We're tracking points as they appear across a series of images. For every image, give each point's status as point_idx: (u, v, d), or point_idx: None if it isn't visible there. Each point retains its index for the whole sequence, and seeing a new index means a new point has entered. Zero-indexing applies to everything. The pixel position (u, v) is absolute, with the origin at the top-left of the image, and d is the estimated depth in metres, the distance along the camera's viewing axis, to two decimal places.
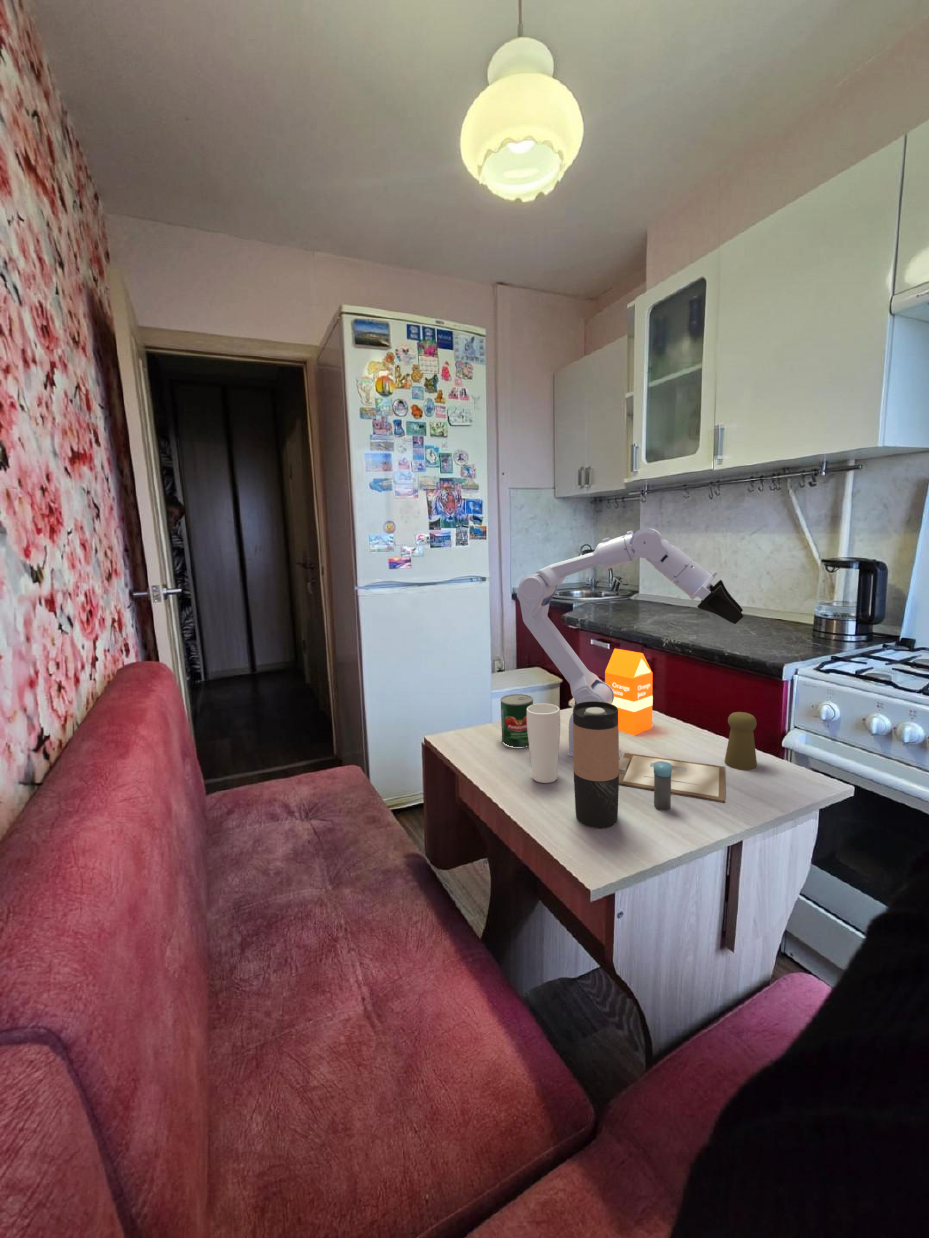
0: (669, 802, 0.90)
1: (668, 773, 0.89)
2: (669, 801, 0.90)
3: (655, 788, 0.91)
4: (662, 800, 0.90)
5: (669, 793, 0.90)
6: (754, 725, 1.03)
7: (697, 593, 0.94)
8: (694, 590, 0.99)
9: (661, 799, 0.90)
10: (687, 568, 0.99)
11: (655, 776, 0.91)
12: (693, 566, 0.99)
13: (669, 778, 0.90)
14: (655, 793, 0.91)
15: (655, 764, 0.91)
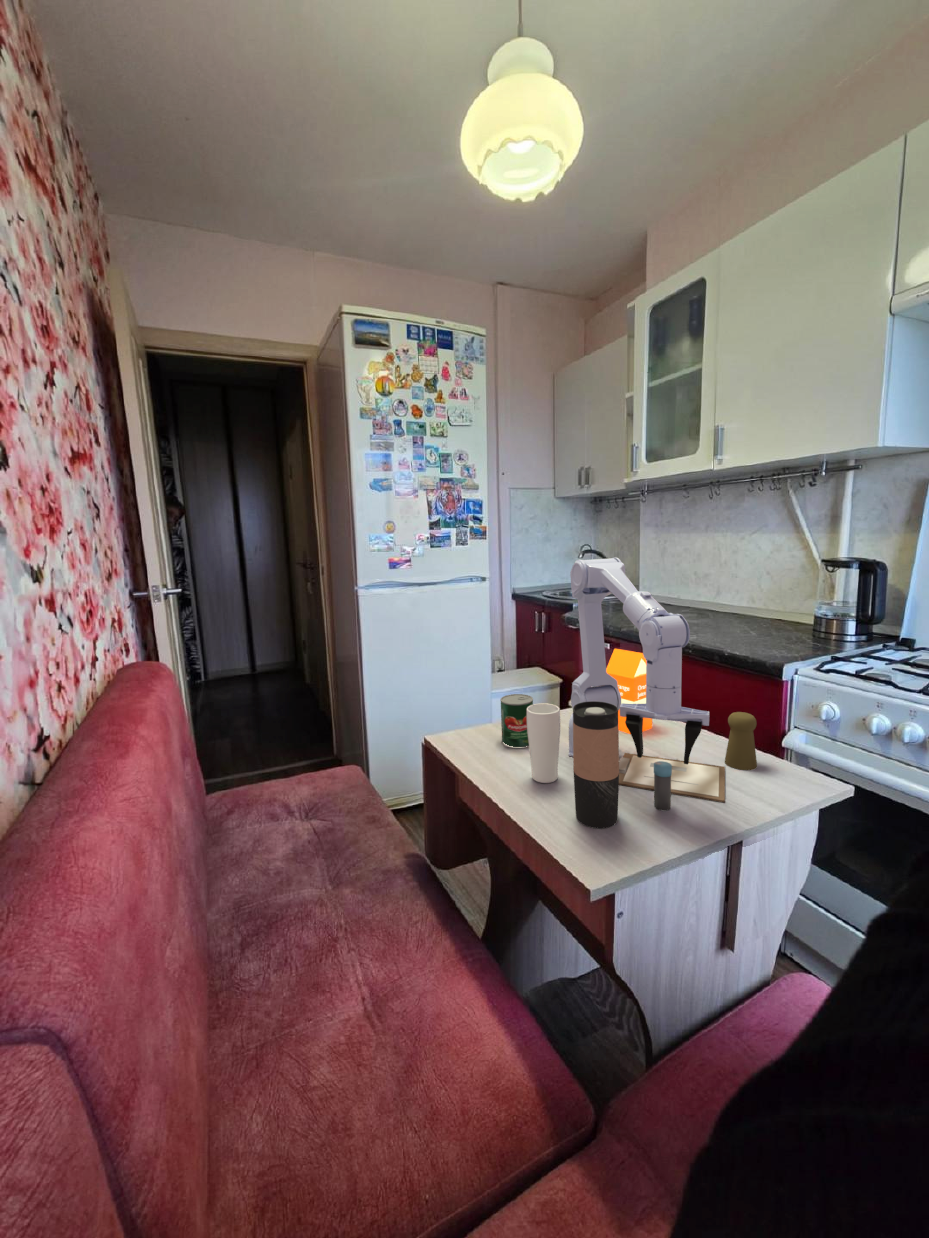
0: (669, 802, 0.90)
1: (668, 773, 0.89)
2: (669, 801, 0.90)
3: (655, 788, 0.91)
4: (662, 800, 0.90)
5: (669, 793, 0.90)
6: (754, 725, 1.03)
7: None
8: None
9: (661, 799, 0.90)
10: (647, 686, 0.88)
11: (655, 776, 0.91)
12: (651, 691, 0.87)
13: (669, 778, 0.90)
14: (655, 793, 0.91)
15: (655, 764, 0.91)
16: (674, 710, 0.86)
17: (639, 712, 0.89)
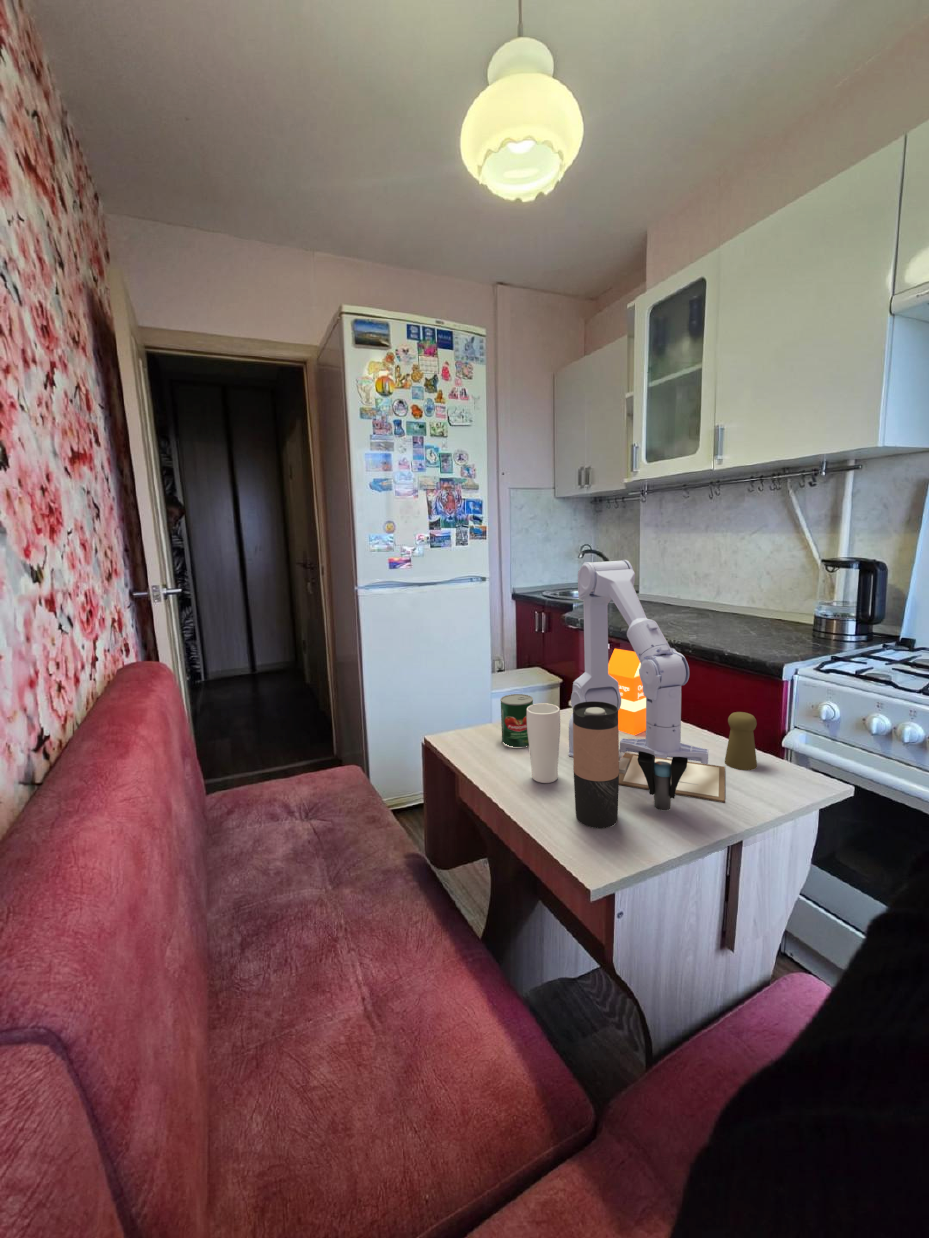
0: (669, 802, 0.90)
1: (668, 773, 0.89)
2: (669, 801, 0.90)
3: (655, 788, 0.91)
4: (662, 800, 0.90)
5: (669, 793, 0.90)
6: (754, 725, 1.03)
7: (621, 740, 0.94)
8: None
9: (661, 799, 0.90)
10: (646, 724, 0.89)
11: (655, 776, 0.91)
12: (650, 729, 0.88)
13: (669, 778, 0.90)
14: (655, 793, 0.91)
15: (655, 764, 0.91)
16: (673, 748, 0.87)
17: (639, 749, 0.90)
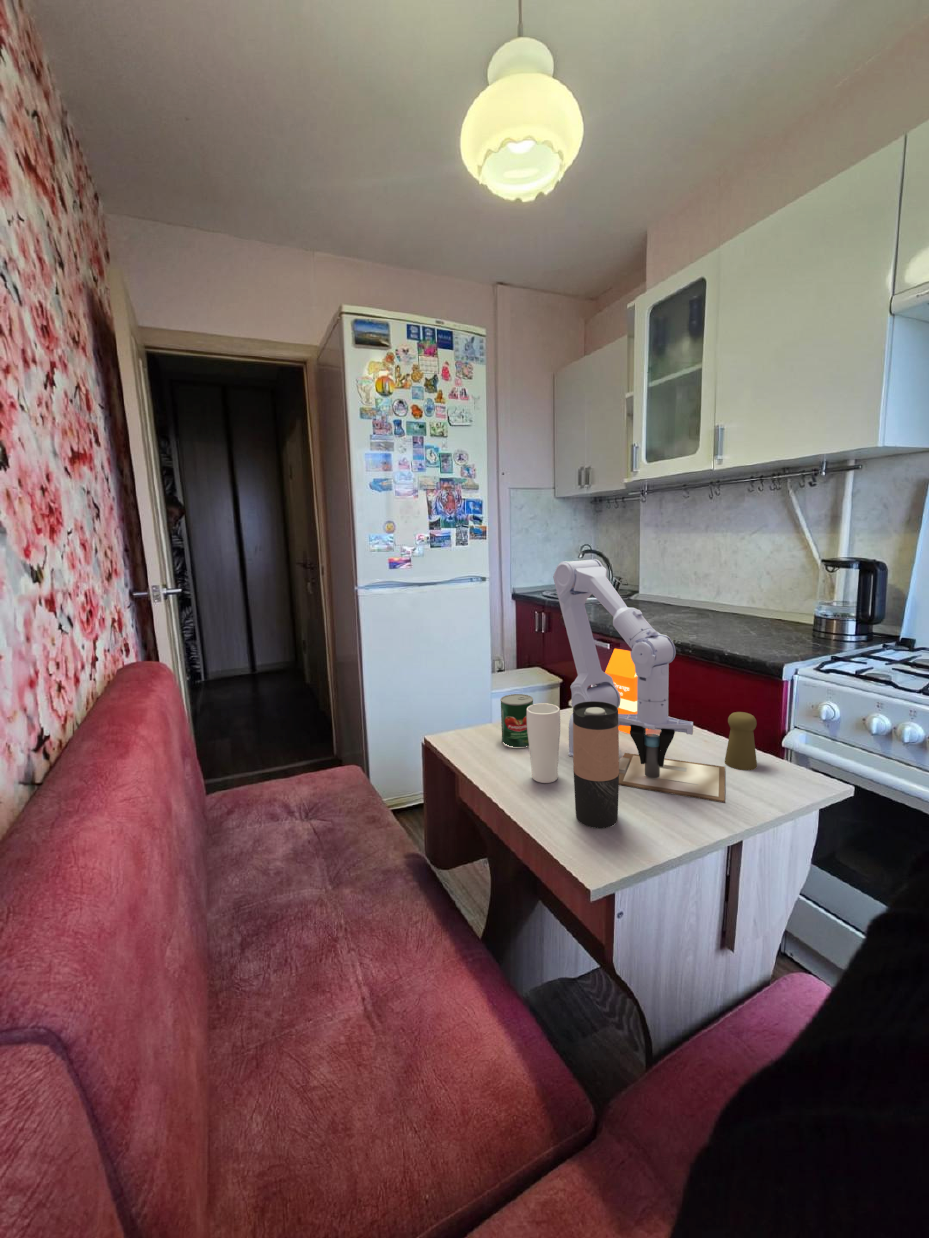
0: (658, 770, 1.00)
1: (657, 744, 0.99)
2: (658, 769, 1.00)
3: (645, 758, 1.01)
4: (651, 768, 1.00)
5: (658, 762, 1.00)
6: (754, 725, 1.03)
7: None
8: None
9: (651, 767, 1.00)
10: (638, 699, 0.99)
11: (645, 747, 1.00)
12: (641, 704, 0.98)
13: (658, 748, 1.00)
14: (646, 762, 1.01)
15: (645, 736, 1.01)
16: (661, 721, 0.97)
17: (631, 722, 1.00)
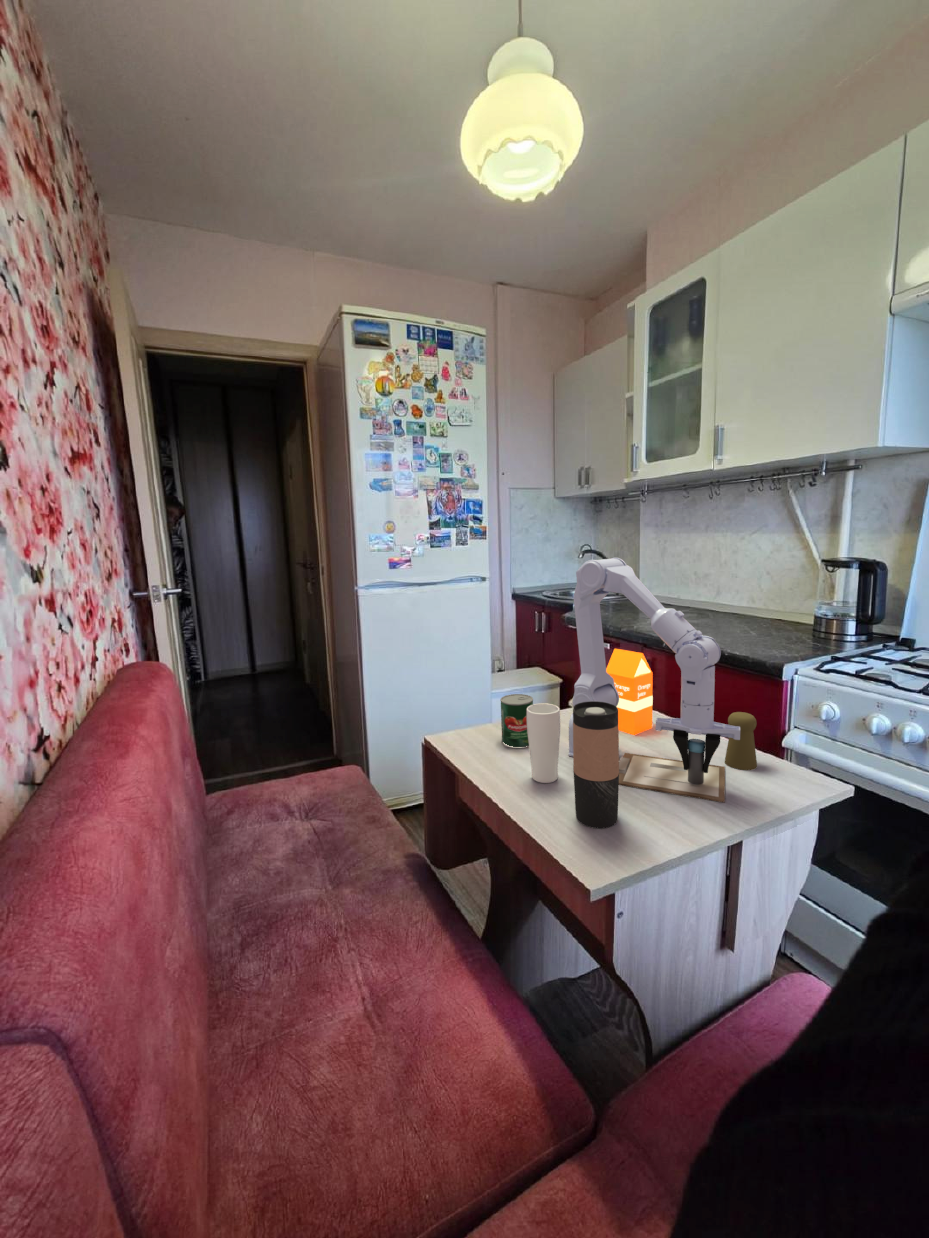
0: (702, 776, 0.97)
1: (702, 749, 0.96)
2: (702, 776, 0.97)
3: (689, 763, 0.97)
4: (695, 775, 0.97)
5: (702, 768, 0.97)
6: (754, 725, 1.03)
7: None
8: None
9: (695, 774, 0.97)
10: (682, 703, 0.96)
11: (689, 752, 0.97)
12: (686, 708, 0.95)
13: (703, 754, 0.96)
14: (689, 768, 0.97)
15: (689, 741, 0.97)
16: (707, 725, 0.94)
17: (674, 727, 0.96)
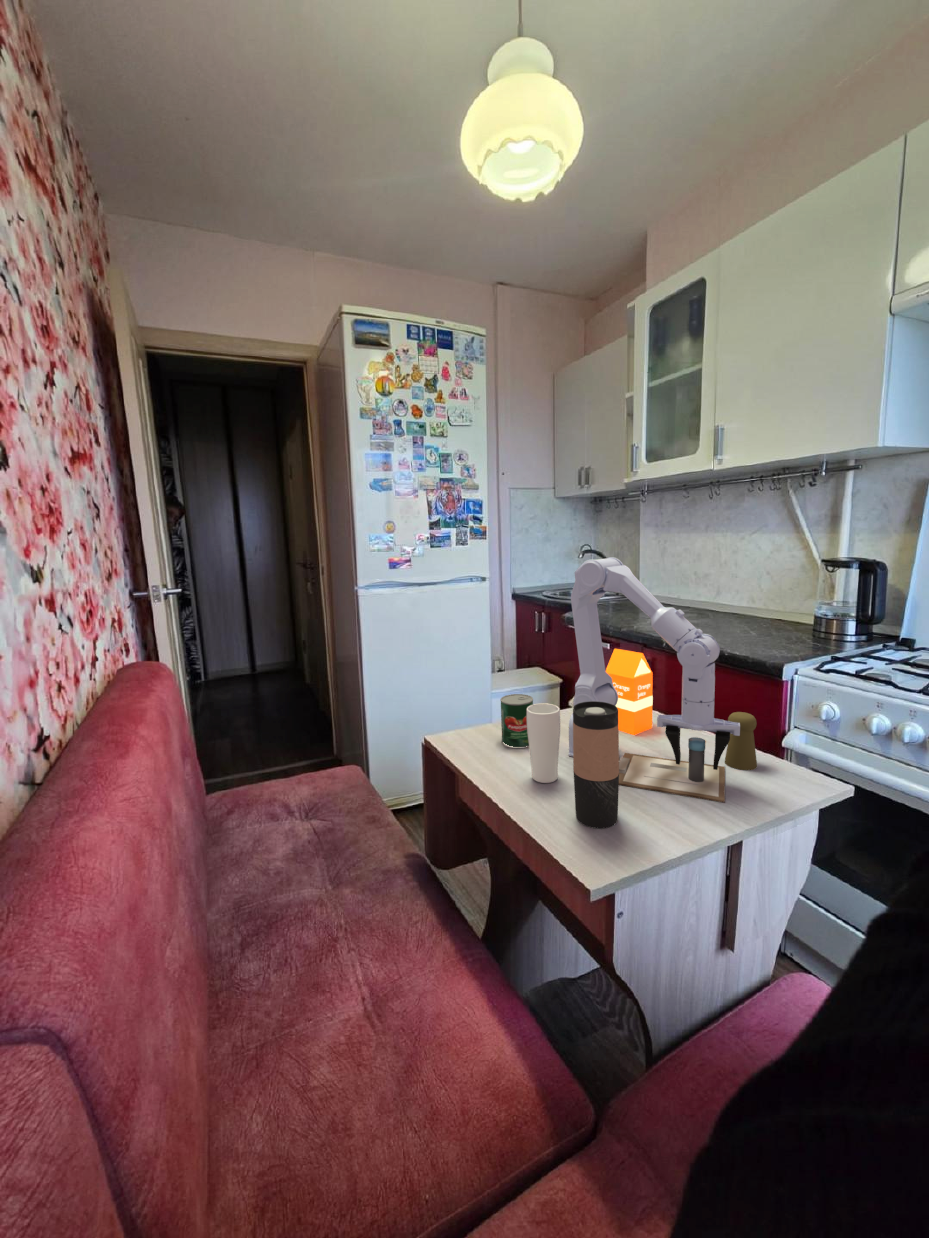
0: (703, 774, 0.99)
1: (702, 747, 0.98)
2: (702, 774, 0.99)
3: (690, 761, 0.99)
4: (696, 772, 0.99)
5: (703, 766, 0.99)
6: (754, 725, 1.03)
7: (658, 716, 1.02)
8: None
9: (696, 772, 0.99)
10: (683, 700, 0.98)
11: (690, 750, 0.99)
12: (687, 705, 0.97)
13: (703, 752, 0.98)
14: (690, 766, 0.99)
15: (690, 740, 0.99)
16: (708, 722, 0.96)
17: (675, 723, 0.99)
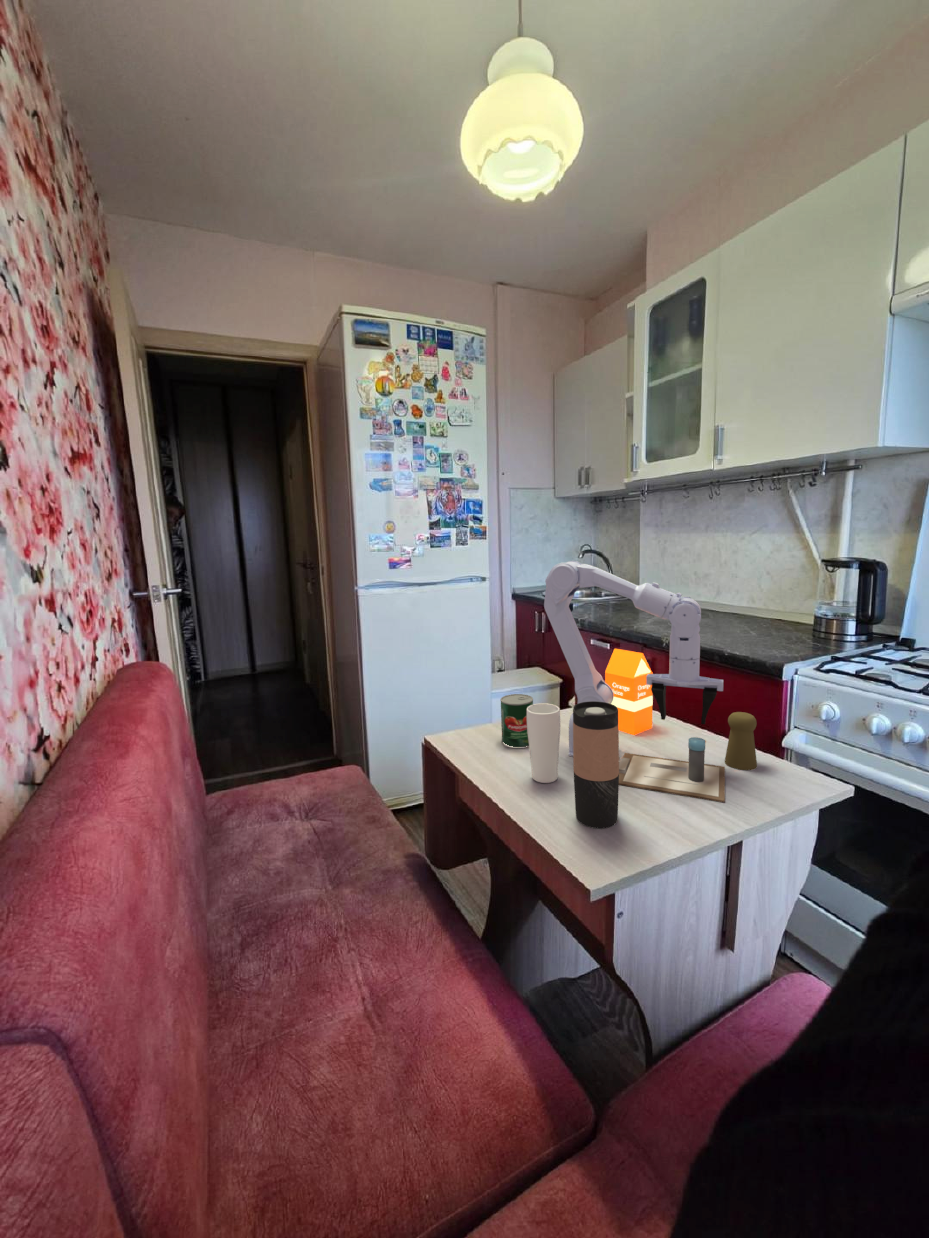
0: (703, 774, 0.99)
1: (702, 747, 0.98)
2: (702, 774, 0.99)
3: (690, 761, 0.99)
4: (696, 772, 0.99)
5: (703, 766, 0.99)
6: (754, 725, 1.03)
7: None
8: None
9: (696, 772, 0.99)
10: (670, 658, 1.04)
11: (690, 750, 0.99)
12: (673, 662, 1.03)
13: (703, 752, 0.98)
14: (690, 766, 0.99)
15: (690, 740, 0.99)
16: (693, 678, 1.02)
17: (663, 680, 1.05)
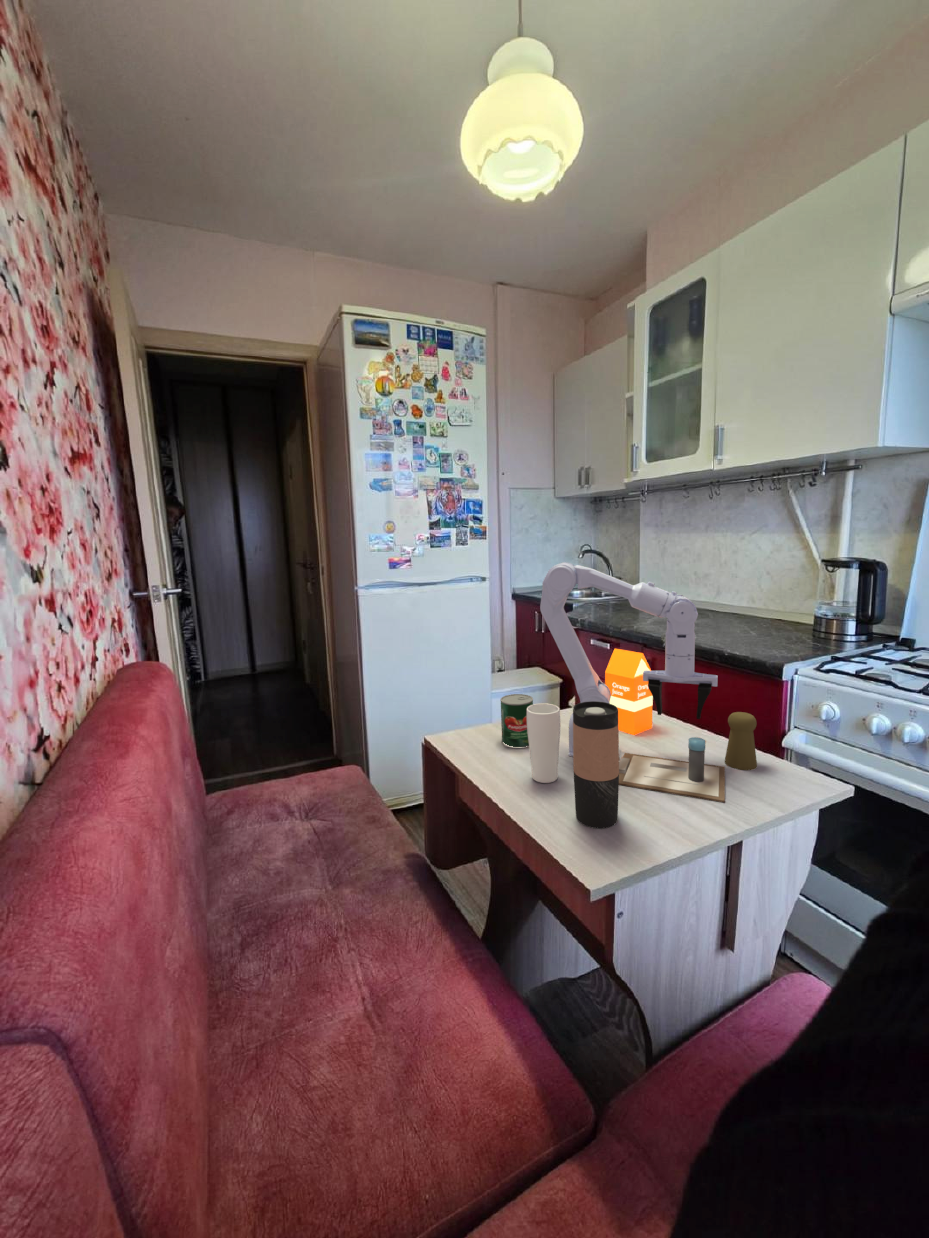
0: (703, 774, 0.99)
1: (702, 747, 0.98)
2: (702, 774, 0.99)
3: (690, 761, 0.99)
4: (696, 772, 0.99)
5: (703, 766, 0.99)
6: (754, 725, 1.03)
7: (643, 672, 1.12)
8: None
9: (696, 772, 0.99)
10: (666, 655, 1.07)
11: (690, 750, 0.99)
12: (669, 659, 1.06)
13: (703, 752, 0.98)
14: (690, 766, 0.99)
15: (690, 740, 0.99)
16: (688, 674, 1.05)
17: (659, 676, 1.08)
